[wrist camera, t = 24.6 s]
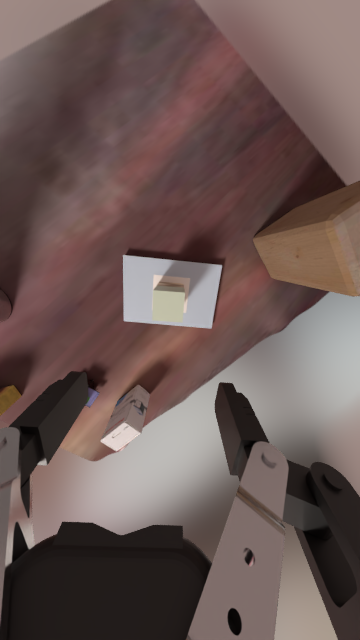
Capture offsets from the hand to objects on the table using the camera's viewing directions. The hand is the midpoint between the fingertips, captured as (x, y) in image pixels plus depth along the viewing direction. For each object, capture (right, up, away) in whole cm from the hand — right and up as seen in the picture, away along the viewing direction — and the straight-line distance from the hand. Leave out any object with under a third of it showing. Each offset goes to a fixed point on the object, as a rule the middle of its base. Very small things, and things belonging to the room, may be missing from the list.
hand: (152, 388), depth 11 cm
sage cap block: (0, +8, +22) cm, 24 cm away
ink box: (-11, -17, +38) cm, 43 cm away
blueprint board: (0, +10, +28) cm, 30 cm away
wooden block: (+23, +20, +26) cm, 39 cm away
